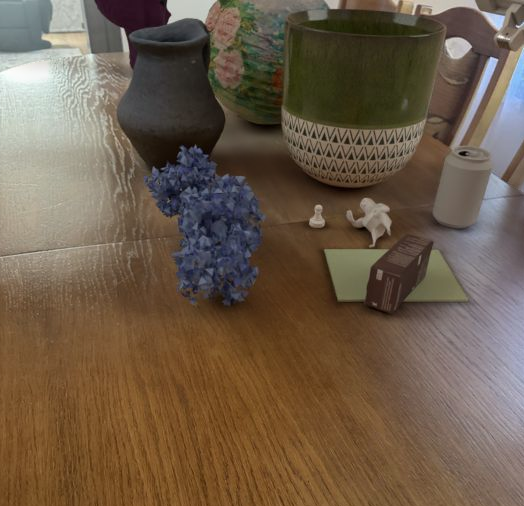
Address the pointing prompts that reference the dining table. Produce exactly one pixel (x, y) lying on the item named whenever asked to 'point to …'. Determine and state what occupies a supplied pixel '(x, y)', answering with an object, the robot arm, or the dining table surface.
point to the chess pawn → (317, 218)
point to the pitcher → (171, 94)
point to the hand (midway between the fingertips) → (503, 45)
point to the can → (462, 186)
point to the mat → (358, 270)
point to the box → (398, 272)
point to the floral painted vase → (250, 54)
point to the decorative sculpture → (209, 225)
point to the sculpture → (134, 17)
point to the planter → (357, 91)
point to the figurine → (372, 218)
